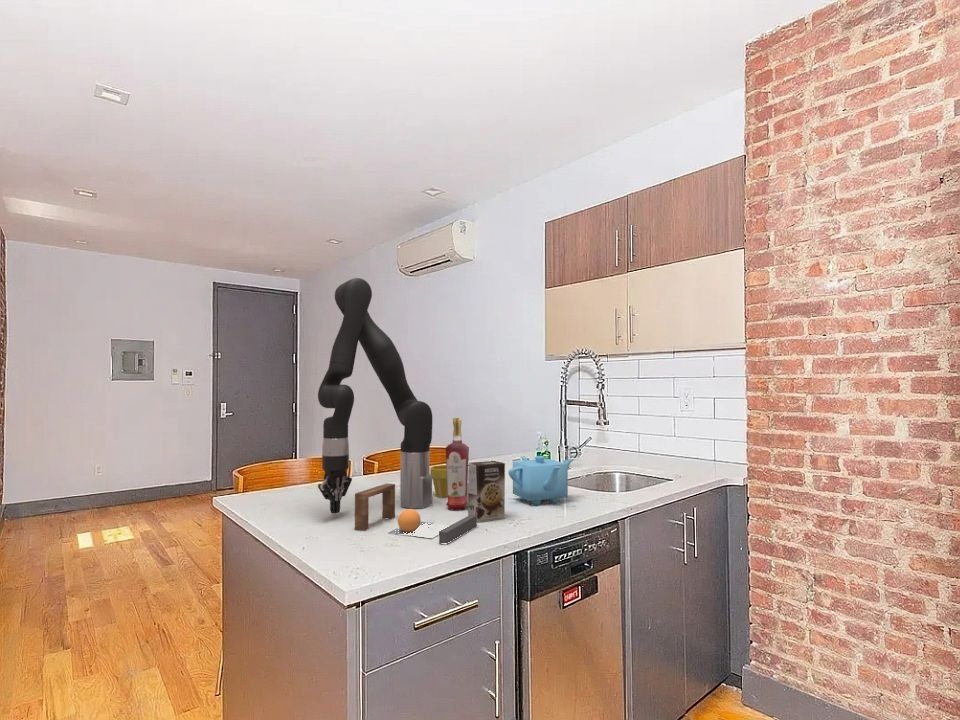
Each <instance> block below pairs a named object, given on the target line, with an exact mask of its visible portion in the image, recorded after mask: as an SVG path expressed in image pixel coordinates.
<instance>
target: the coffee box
mask: <svg viewBox="0 0 960 720" xmlns="http://www.w3.org/2000/svg"><path fill="white" fill-rule="evenodd" d="M468 465H469V490H468V505H467V507H468V508H467V516H469V515H477V523H482V521H483V522H489V521H498V520H505V519H506V518H505V514H506V513H505V512H506V511H505V509H506V507H505V505H506V504H505V503H506V497H505V496H506V494H505V493H506V491H505V490H506V488H505V487H506V463H505V462H501V461H496V460H491V461H489V460H488V461H487V460H486V461H476V462H475V461H474V462H468Z"/></svg>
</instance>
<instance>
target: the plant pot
mask: <svg viewBox="0 0 960 720" xmlns="http://www.w3.org/2000/svg"><path fill="white" fill-rule="evenodd" d="M430 474H431V475H432V485H433V487H434V492H435V496H436V497H439V498H448V494H447V469H446V464H438V465H433V466H430Z"/></svg>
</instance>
